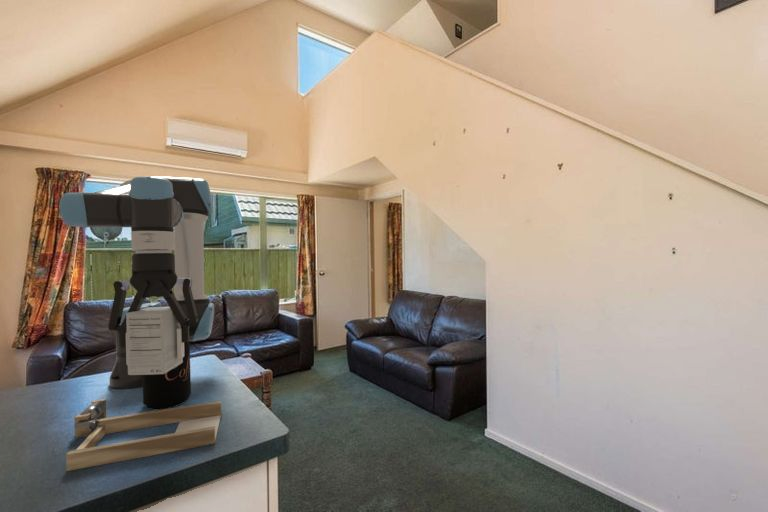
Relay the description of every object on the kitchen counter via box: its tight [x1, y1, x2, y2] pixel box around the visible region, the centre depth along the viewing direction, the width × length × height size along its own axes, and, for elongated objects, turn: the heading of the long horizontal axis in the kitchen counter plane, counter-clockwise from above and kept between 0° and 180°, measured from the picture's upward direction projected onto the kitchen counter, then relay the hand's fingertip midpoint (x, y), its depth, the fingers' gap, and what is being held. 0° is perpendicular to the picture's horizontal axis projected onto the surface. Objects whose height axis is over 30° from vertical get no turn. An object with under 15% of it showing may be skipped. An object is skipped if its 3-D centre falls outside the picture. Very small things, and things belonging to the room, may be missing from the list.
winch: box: [73, 398, 108, 439], centre depth 77 cm, size 12×5×5 cm, turn 20°
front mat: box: [174, 414, 222, 440], centre depth 76 cm, size 11×8×1 cm
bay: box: [65, 400, 223, 472], centre depth 73 cm, size 14×24×3 cm, turn 110°
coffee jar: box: [142, 340, 192, 410], centre depth 91 cm, size 11×11×18 cm
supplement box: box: [126, 306, 183, 375], centre depth 73 cm, size 7×7×13 cm
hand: (156, 360), depth 73 cm, fingers closed on supplement box, 8 cm apart
